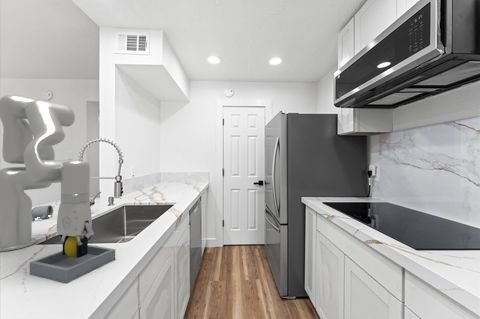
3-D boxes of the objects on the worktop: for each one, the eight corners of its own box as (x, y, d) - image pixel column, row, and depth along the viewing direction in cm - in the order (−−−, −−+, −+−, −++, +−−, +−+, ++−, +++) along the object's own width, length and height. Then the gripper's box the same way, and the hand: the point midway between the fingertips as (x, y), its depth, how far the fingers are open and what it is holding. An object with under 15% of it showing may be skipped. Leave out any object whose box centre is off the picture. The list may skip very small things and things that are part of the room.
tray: (29, 274, 68) (29, 262, 68) (81, 253, 83) (81, 243, 83) (66, 283, 62) (66, 270, 62) (115, 259, 78) (115, 249, 78)
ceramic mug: (37, 217, 137) (37, 204, 137) (53, 216, 139) (53, 204, 139) (26, 222, 127) (26, 208, 127) (44, 221, 129) (44, 207, 129)
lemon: (89, 254, 76) (89, 230, 76) (78, 261, 70) (78, 236, 70) (72, 254, 75) (72, 231, 76) (59, 262, 70) (60, 236, 70)
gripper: (44, 199, 72) (44, 255, 72) (83, 202, 67) (82, 263, 66) (69, 195, 79) (68, 247, 79) (105, 198, 74) (105, 253, 74)
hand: (75, 254), depth 73 cm, fingers closed on lemon, 5 cm apart
